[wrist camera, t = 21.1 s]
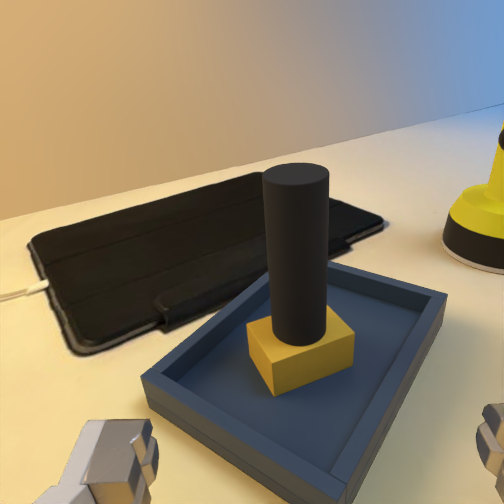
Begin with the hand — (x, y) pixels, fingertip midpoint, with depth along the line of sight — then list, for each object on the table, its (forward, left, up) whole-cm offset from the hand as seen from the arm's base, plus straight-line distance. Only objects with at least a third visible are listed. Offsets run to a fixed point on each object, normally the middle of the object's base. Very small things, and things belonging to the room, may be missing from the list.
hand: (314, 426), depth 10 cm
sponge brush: (-6, +9, -9) cm, 14 cm away
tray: (-6, +10, -10) cm, 15 cm away
